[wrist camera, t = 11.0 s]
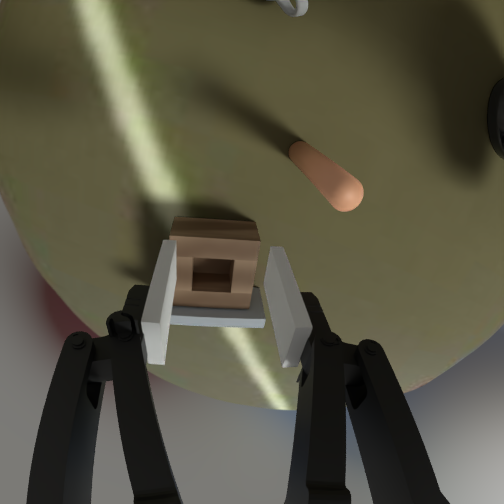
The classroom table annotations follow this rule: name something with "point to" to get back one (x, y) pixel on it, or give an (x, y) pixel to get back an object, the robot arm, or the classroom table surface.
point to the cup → (290, 10)
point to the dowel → (327, 176)
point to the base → (222, 315)
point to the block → (214, 262)
